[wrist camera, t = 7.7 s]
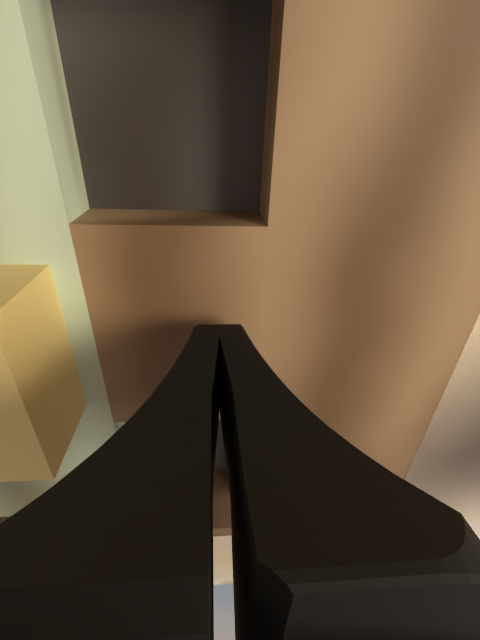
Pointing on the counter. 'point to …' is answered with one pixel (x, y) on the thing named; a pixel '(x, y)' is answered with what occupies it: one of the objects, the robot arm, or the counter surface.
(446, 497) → the counter surface
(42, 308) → the block
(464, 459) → the counter surface
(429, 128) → the box
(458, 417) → the counter surface
